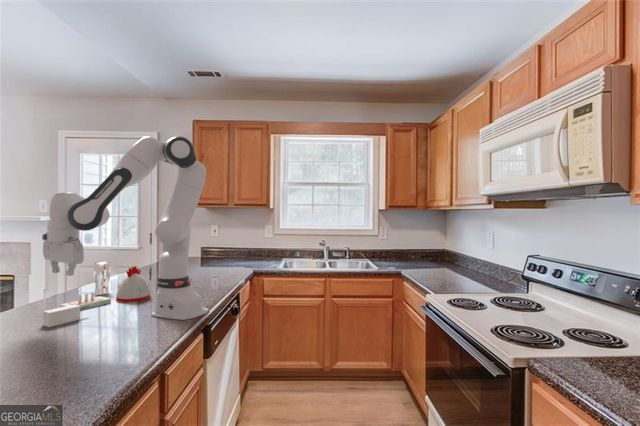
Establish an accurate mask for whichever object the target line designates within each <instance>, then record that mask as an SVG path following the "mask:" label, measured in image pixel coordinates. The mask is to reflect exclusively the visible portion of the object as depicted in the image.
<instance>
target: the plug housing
mask: <svg viewBox="0 0 640 426" xmlns="http://www.w3.org/2000/svg"><path fill="white" fill-rule="evenodd" d="M89 307H90V306H89V305H88V306H83V307H80V306H78V305H70V306H65V307H61V308H60V307H56V308H51V309H48V310H43V312H42V326H43V327H47V328H51V327H55V326H59V325H63V324H67V323H71V322H74V321H79V320H80V319H81V311H83V310H86V308H87V309H90V308H89ZM82 309H83V310H82Z"/></svg>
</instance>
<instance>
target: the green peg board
mask: <svg viewBox="0 0 640 426" xmlns="http://www.w3.org/2000/svg"><path fill="white" fill-rule="evenodd" d="M94 293H95V291H92V292H90V297H89V293H88V292H86V293H84V299H82V293H81V294H78V300H76V301H69V302H66V303H60V304H59V308H61V307H65V306H70V305H78V306H80V307H83V306H88V305H89V306H90V307H89V308H86V309H90V308H91V307H92V308H95V307H99V306H100V307H101V306H103V305H104V304H105V305H107V304H108V305H109V304H111V302H112V298H110V297H105V296H102V295H97V296H95V294H94ZM86 309H85V310H86ZM83 310H84V309H82V310H81V311H83Z"/></svg>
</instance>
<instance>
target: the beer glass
mask: <svg viewBox="0 0 640 426" xmlns="http://www.w3.org/2000/svg"><path fill="white" fill-rule="evenodd" d="M111 270H112V269H111V262H109V261H101V262H94V265H93V279H94V285H95V288H94V296H102V295H104V296H105V295H108V294H109V293H110V290H109V282H110V278H111V273H112V272H111Z"/></svg>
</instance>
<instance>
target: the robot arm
mask: <svg viewBox="0 0 640 426" xmlns="http://www.w3.org/2000/svg"><path fill="white" fill-rule="evenodd" d="M161 162H165V163H168V164H170V165H173V166H174V165H175V166H176V167H177V177H176V179H175V182H174V186H173V188H172V191H171V193H170V197H169V199H168V201H167V204H166V206H165V208H164V210H163V212H162V213H161V217H160V219H159V221H158V223H157V225H156V227H155V230H154V231H155V232H154V235H155V237H156V239H157V240H158V241H159V242H160V243H161V249H160V253H159V258H158V277H157V279H156V285H157V292H156V293H155V298H154V306H153V311H152V312H151V317H154V318H155V317H156V318H164V319H172V320H180V321H181V320H182V321H183V320H191V319H195V318H197V317H201V316H203V315H205V314H207V313H209V308H208V307H205V306H203V305H204V304H203V298H202V296H201V295H200V294H199V293H198V292H197V291H196V290H195V289H194V288H193V287H192V286H191V283H192V282H193V279H192V278H189V275H188V267H189V266H188V264H189V253H190V252H189V251H190V242H191V228H192V227H191V224H190V223H191V222H192V221H191V220H192V218H193V216H194V214H195V211H196V209H197V207H198V204H199V201H200V198H201V196H202V192H203V189H204V187H205V183H206V175H207V168H206V166H205V165H204V164H203V163H202V162H200V161H198V160H197V157H196V152H195V147H194V145H193V144H192V142H191V141H190V140H189V139H188V138H187V137H185V136H173V137H171V138H169V139H168V140H167V141H165V142H162V141H160V140H158V139H157V138H156V137H153V136H148V135H147V136H143V137H142V138H140V139H139V140H138V141H137V142H135V143H133V145H132V146H131V147H130V148H128V150H127V151H126V152H125V153H124V155H122V157H121V158H120V159H119V161H118V162H117V163H116V165H115V167H114V168H113V169H112V171H111V172H110V173H109V175H108V176H107V177H106V178H105V180H103V181H102V182H101V183H100V185H99V186H97V188H95V190H94V191H93V192H92V193H91V194H89V196H88V197H84V196H82V195H80V194H79V193H77V192H74V191H73V192H69V191H67V192H59V193H56V194H54V195H53V196H52V197H51V200H50V206H49V215H48V216H49V220H50V224H49V227H48V231H47V232H45V233H43V234H42V237H41V238H42V239H41V240H42V241H43V243H42V244H43V245H42V254H43V258H44V260H48V261H50V262H49V263H50V266H51V268H52V269H51V270H52V271H51V272H52V273H54V274H56V273H57V274H58V273H60V270H61V269H60V267H59V263H65V264H67V270H65V275H66V276H68V277H70V276H74V275H75V274H74V273H75V269H76V267H77V264H83V262H84V260H85V259H84V257H85V256H84V255H85V253H84V245H83V243H82V241H80V237H79V236H80V235H79V234H80V231H83V232H85V231H92V230H94V229H95V228H96V229H97V228H100V227H102V226H103V225H105V224H106V223H107V222H108V221H109V219H110V211H109V208H107V207H108V206H109V205H110V204H111V203H112V202H113V201H114V200H115V198H116V197H117V196H118V195H119V194H120V193H121V192H122V191H124V190H125V189H126V188H128V187H132V186H133V185H136V184H140V183H141V182H142V181H143V180H144V179H146V178H147V177H148V176H149V175H150V174H151V172H152V171H153V170H154V169H155V168H156V167H157V165H158V164H160V163H161Z"/></svg>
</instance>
